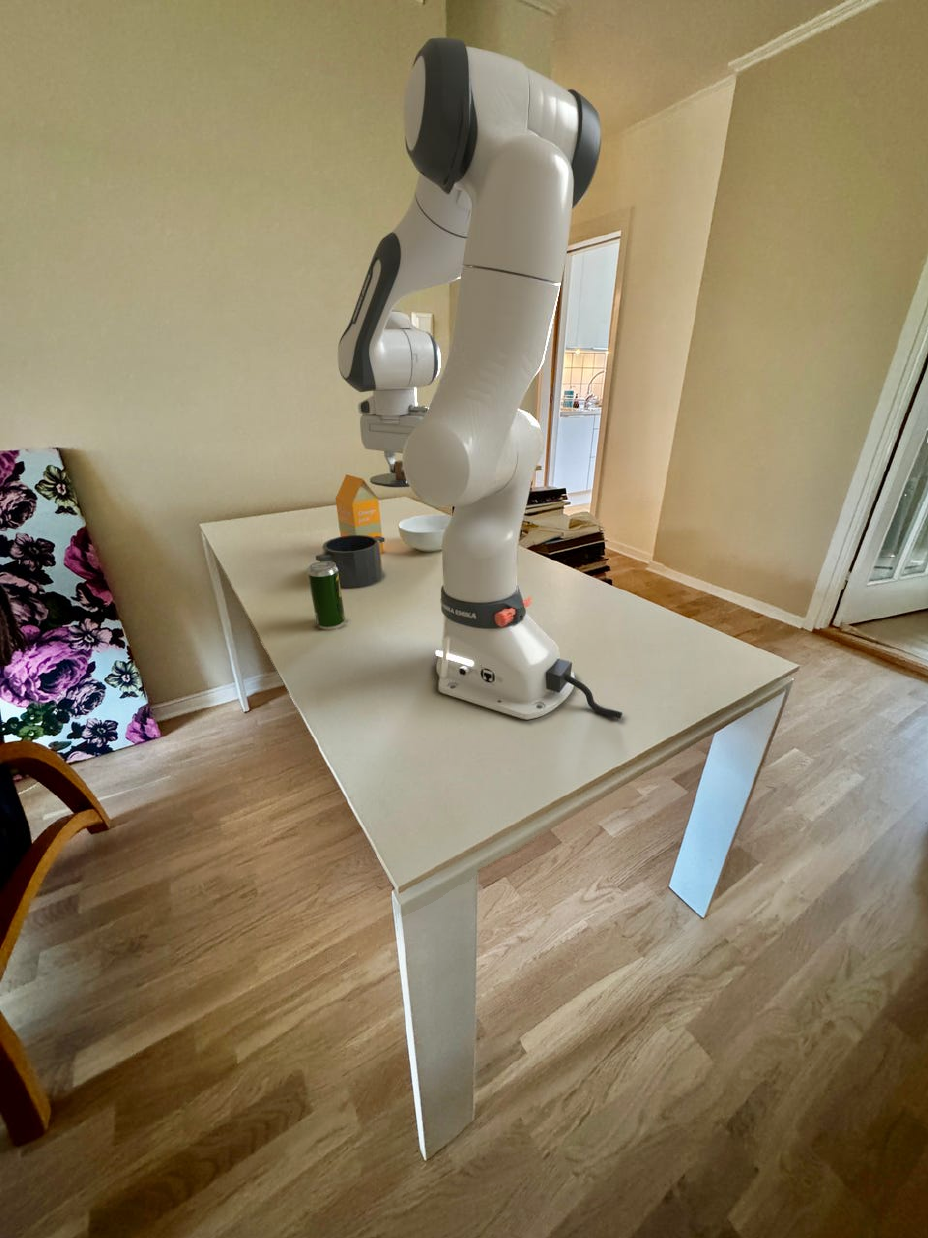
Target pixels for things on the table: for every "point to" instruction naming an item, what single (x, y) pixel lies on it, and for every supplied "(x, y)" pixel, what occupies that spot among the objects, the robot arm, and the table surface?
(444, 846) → the table surface
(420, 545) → the cereal bowl
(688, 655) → the table surface
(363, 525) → the orange juice
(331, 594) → the beer can
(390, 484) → the pot lid
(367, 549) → the pot
